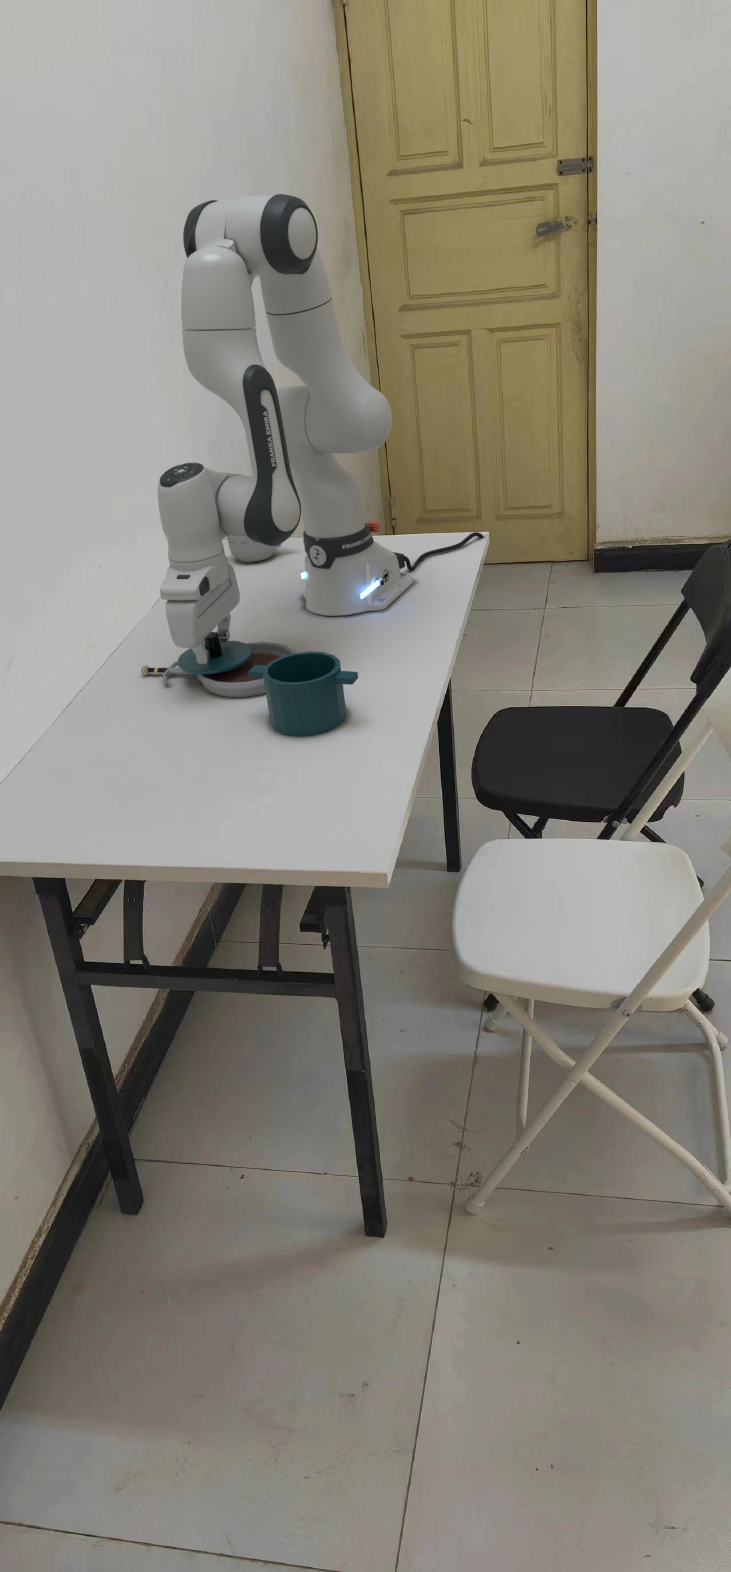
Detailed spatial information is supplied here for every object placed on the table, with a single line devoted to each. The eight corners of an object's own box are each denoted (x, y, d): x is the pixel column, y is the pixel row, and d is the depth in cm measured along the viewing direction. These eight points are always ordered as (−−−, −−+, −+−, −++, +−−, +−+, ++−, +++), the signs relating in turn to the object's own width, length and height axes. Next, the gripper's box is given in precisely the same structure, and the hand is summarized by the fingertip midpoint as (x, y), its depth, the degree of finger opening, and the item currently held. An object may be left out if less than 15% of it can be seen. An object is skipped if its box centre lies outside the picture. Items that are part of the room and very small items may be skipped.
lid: (200, 645, 191) (195, 619, 189) (264, 648, 187) (260, 622, 184) (165, 675, 182) (159, 648, 179) (232, 679, 177) (227, 652, 175)
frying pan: (159, 641, 195) (311, 639, 187) (163, 657, 197) (313, 655, 189) (117, 684, 181) (279, 683, 173) (121, 700, 183) (282, 700, 175)
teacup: (224, 567, 234) (218, 530, 230) (238, 550, 243) (232, 514, 239) (288, 564, 231) (283, 527, 227) (299, 547, 240) (295, 510, 236)
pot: (274, 698, 176) (266, 648, 172) (373, 705, 170) (368, 654, 166) (242, 731, 167) (233, 680, 163) (346, 740, 161) (339, 687, 157)
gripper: (206, 548, 186) (220, 625, 193) (154, 593, 169) (171, 676, 176) (241, 548, 184) (254, 626, 191) (192, 594, 167) (208, 677, 174)
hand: (214, 651), depth 183 cm, fingers open, 7 cm apart
